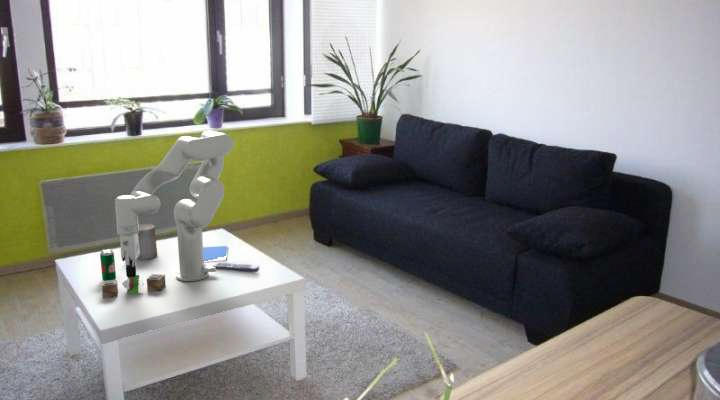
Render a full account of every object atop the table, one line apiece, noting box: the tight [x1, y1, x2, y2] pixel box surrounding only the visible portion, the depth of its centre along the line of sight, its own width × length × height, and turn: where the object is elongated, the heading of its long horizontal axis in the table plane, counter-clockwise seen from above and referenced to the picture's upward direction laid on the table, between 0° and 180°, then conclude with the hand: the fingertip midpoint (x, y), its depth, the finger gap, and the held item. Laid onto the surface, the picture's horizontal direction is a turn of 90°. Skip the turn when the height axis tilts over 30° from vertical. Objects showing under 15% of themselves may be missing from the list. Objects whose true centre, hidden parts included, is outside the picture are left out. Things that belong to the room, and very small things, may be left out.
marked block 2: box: [146, 273, 167, 293], centre depth 244 cm, size 5×5×5 cm
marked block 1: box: [101, 279, 119, 299], centre depth 238 cm, size 5×5×5 cm
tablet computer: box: [203, 245, 229, 261], centre depth 283 cm, size 19×13×1 cm, turn 10°
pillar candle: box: [136, 223, 158, 261], centre depth 279 cm, size 10×10×15 cm
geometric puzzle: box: [121, 274, 145, 294], centre depth 241 cm, size 7×7×8 cm
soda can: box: [99, 248, 117, 281], centre depth 252 cm, size 5×5×12 cm
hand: (131, 276), depth 240 cm, fingers closed
